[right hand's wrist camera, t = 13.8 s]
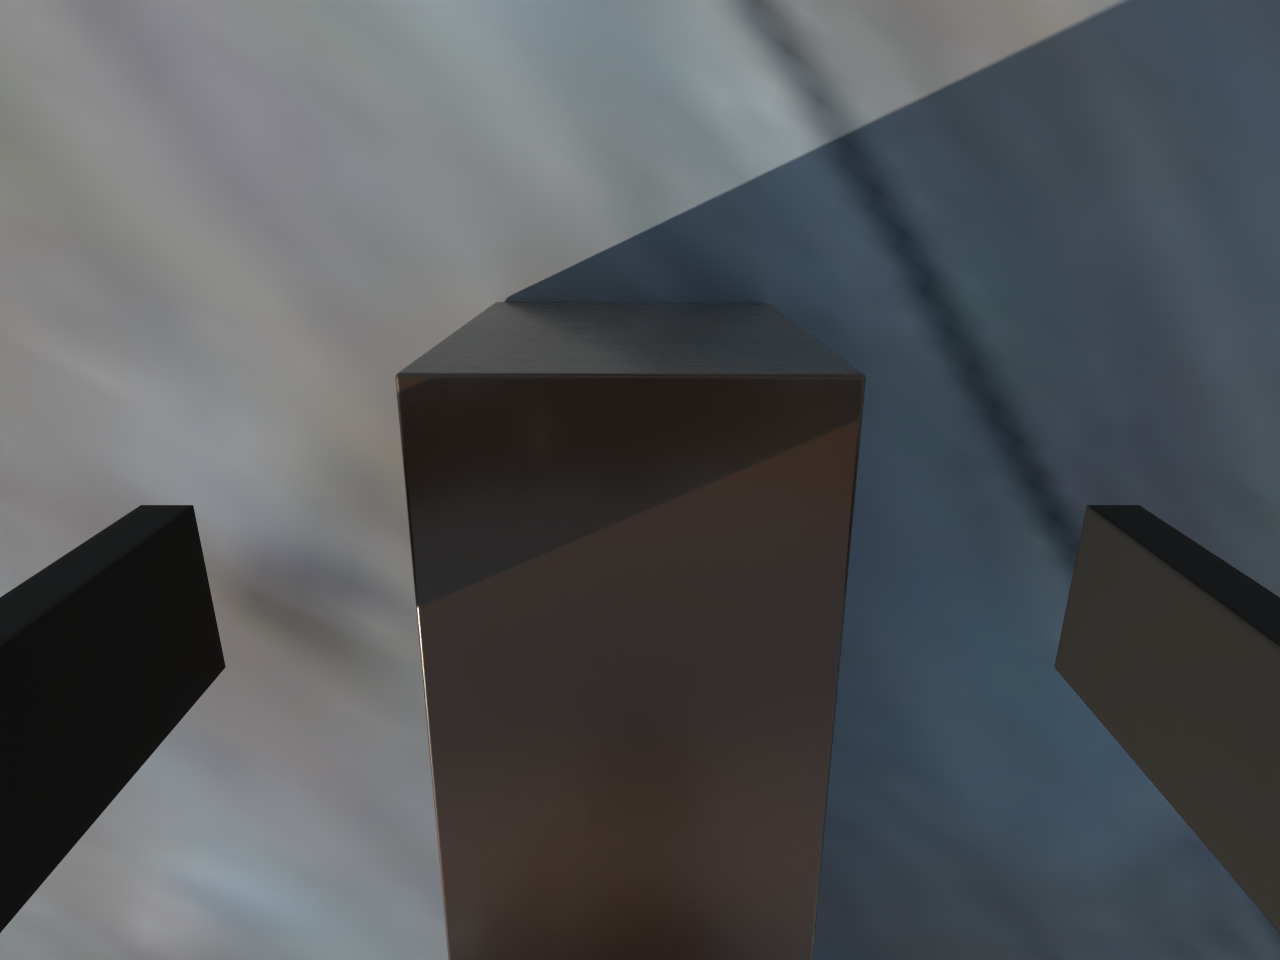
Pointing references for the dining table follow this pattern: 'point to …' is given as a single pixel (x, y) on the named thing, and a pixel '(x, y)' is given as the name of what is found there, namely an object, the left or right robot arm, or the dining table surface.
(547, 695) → the walnut beam
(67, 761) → the right robot arm
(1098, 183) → the dining table surface
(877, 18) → the dining table surface
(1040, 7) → the dining table surface
